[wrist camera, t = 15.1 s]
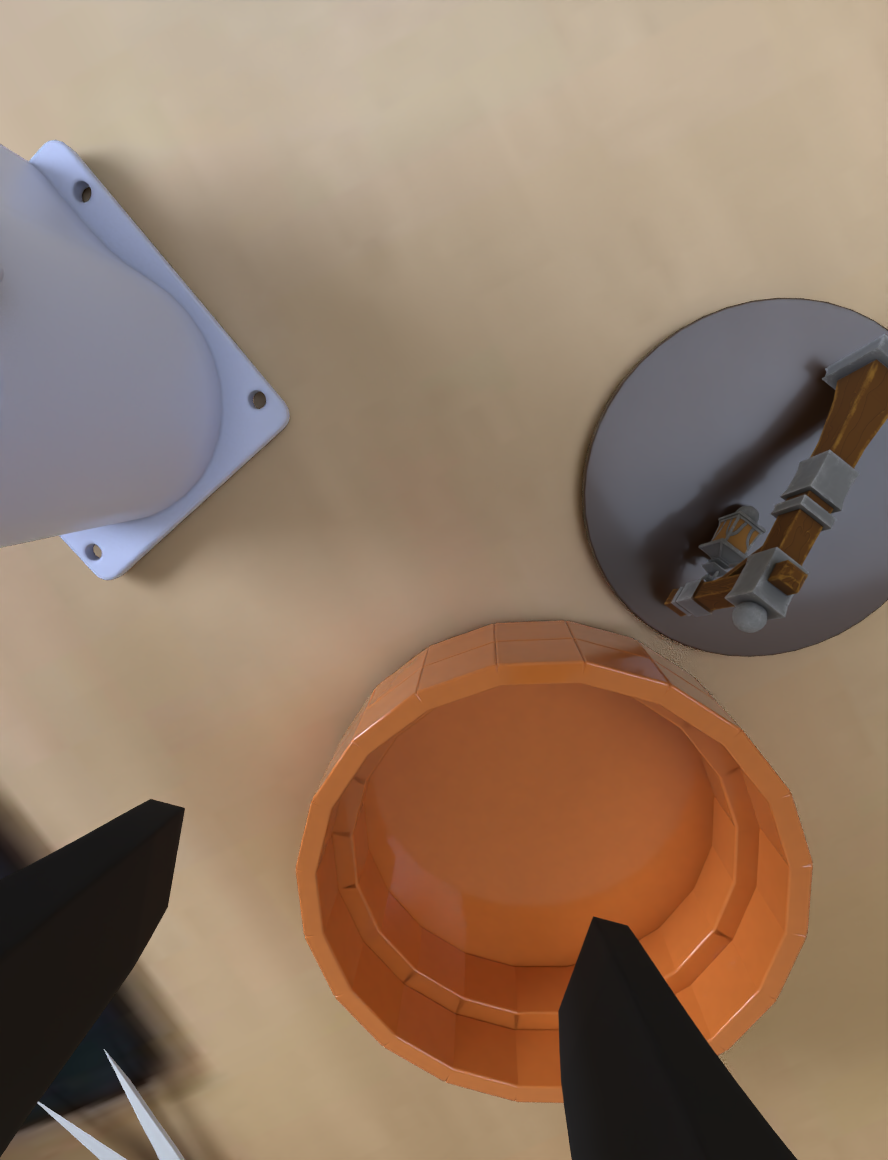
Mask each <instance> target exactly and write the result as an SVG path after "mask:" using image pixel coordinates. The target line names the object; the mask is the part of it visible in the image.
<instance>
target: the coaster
mask: <svg viewBox="0 0 888 1160" xmlns="http://www.w3.org/2000/svg"><path fill="white" fill-rule="evenodd" d="M884 334H885V335H887V336H888V330H887V329H886V328H884V327H883V326H881V325H880V324H878V323H877V322H875V321H874V320H872V319H870V318H868V317H866V316H864V315H862V314H860V313H857V312H855V311H853V310H851V309H848V308H845V307H841V306H838V305H835V304H832V303H829V302H823V301H817V300H810V299H804V298H773V299H764V300H756V301H750V302H746V303H742V304H738V305H734V306H730V307H726V308H724V309H721V310H719V311H716V312H714V313H711V314H709V315H706V316H704V317H702V318H700V319H698V320H696V321H694V322H692V323H691V324H689V325H687V326H685V327H683V328H681V329H680V330H678V331H676V332H675V333H673V334H672V335H671V336H669V337H668V338H666V339H665V340H664V341H662V342H661V343H660V344H658V345H657V346H655V347H654V348H653V349H652V350H651V351H650V352H649V353H648V354H647V355H646V356H645V357H643V358H642V359H641V360H640V361H639V362H638V363H637V364H636V365H635V366H634V368H633V369H632V370H631V371H630V372H629V373H628V375H627V376H626V377H625V378H624V379H623V381H622V382H621V383H620V384H619V386H618V387H617V389H616V390H615V392H614V394H613V395H612V397H611V398H610V400H609V401H608V403H607V404H606V406H605V408H604V410H603V412H602V415H601V417H600V419H599V421H598V423H597V425H596V427H595V430H594V433H593V436H592V439H591V442H590V444H589V447H588V452H587V457H586V461H585V466H584V472H583V484H582V506H583V518H584V523H585V529H586V534H587V538H588V541H589V544H590V547H591V550H592V553H593V556H594V558H595V560H596V562H597V565H598V567H599V569H600V571H601V573H602V575H603V576H604V578H605V579H606V581H607V582H608V584H609V585H610V587H611V588H612V590H613V591H614V593H615V594H616V595H617V596H618V597H619V598H620V599H621V601H622V602H623V603H624V604H625V605H626V606H627V607H628V608H629V609H630V610H631V612H633V613H634V614H635V615H636V616H637V617H639V618H640V619H641V620H642V621H643V622H645V623H646V624H647V625H648V626H650V627H652V628H653V629H655V630H656V631H658V632H659V633H661V634H663V635H664V636H666V637H668V638H670V639H672V640H675V641H677V642H679V643H681V644H683V645H686V646H689V647H692V648H695V649H699V650H702V651H705V652H710V653H716V654H722V655H728V656H748V657H751V656H766V655H775V654H781V653H786V652H791V651H796V650H799V649H802V648H806V647H809V646H812V645H815V644H818V643H821V642H823V641H825V640H827V639H830V638H832V637H834V636H836V635H839V634H840V633H842V632H844V631H846V630H847V629H849V628H851V627H852V626H854V625H856V624H858V623H859V622H861V621H862V620H863V619H865V618H866V617H867V616H869V615H870V614H871V613H873V612H874V611H875V610H877V609H878V608H879V607H881V606H882V605H883V604H884V603H885V602H886V601H887V600H888V419H887V420H886V421H885V423H884V424H883V425H882V427H881V428H880V429H879V431H878V432H877V434H876V435H875V436H874V438H873V439H872V440H871V442H870V443H869V445H868V446H867V447H866V449H865V450H864V452H863V454H862V455H861V457H860V459H859V461H858V462H857V464H856V466H855V468H854V469H855V470H856V471H857V472H859V473H860V475H859V476H858V477H857V478H856V479H855V480H854V482H853V483H852V485H851V487H850V489H849V491H848V493H847V495H846V497H845V499H844V501H843V508H842V511H839V512H835V513H832V514H831V515H832V516H833V517H835V518H836V519H837V520H836V521H835V522H834V523H833V525H832V529H828V530H825V531H821V532H820V534H819V535H818V537H817V539H816V541H815V543H814V544H813V546H812V548H811V550H810V552H809V554H808V555H807V557H806V559H805V561H804V563H803V564H802V567H803V568H805V569H806V570H807V571H808V572H809V573H808V574H807V575H808V576H807V578H806V580H805V582H804V583H803V585H802V587H801V589H800V591H799V593H796V594H794V596H793V598H792V600H791V602H790V603H789V605H788V607H787V612H786V617H784V618H777V619H771V620H767V622H766V625H765V626H764V627H763V628H762V629H761V630H759V631H756V632H754V633H747V632H743V631H741V630H739V629H738V628H737V627H736V626H735V625H734V623H733V619H732V613H733V610H734V608H735V606H734V607H728V608H722V609H716V610H714V611H713V613H712V614H710V615H704V616H698V617H695V616H694V615H693V614H691V615H690V616H688V615H685V616H682V617H681V616H679V615H678V614H677V613H675V612H674V611H673V610H671V609H670V608H668V607H667V606H666V605H664V603H665V602H666V600H667V598H668V597H669V595H670V593H671V592H672V590H673V589H679V588H680V587H685V585H686V583H689V582H693V581H697V580H700V578H701V577H702V576H705V575H706V574H707V573H708V572H707V571H706V570H705V569H704V568H703V567H702V566H701V565H702V564H706V563H709V562H708V561H707V560H711V558H710V556H709V555H707V554H706V553H705V552H704V551H702V550H701V549H700V548H698V547H699V545H701V544H704V543H708V542H711V540H712V538H713V536H714V534H715V532H716V530H717V528H718V526H719V520H718V519H719V518H720V517H723V516H726V515H729V514H732V513H734V512H736V511H737V510H738V509H739V508H740V507H742V506H752V507H754V508H756V510H757V511H758V513H759V520H758V522H757V523H758V524H759V525H760V526H761V527H763V528H764V529H765V530H767V531H766V532H765V533H763V534H761V535H760V536H759V537H758V538H757V540H756V541H755V542H754V544H753V545H752V547H751V548H750V550H749V551H748V553H747V555H746V556H747V557H748V556H749V555H751V554H752V553H754V552H755V551H756V550H757V549H759V548H760V547H761V546H763V544H764V542H765V540H766V538H767V536H768V534H769V533H770V531H771V529H772V527H773V525H774V523H775V521H776V519H777V518H775V517H774V516H773V515H771V513H772V512H773V510H774V505H776V504H779V503H782V502H784V501H785V500H784V499H782V498H781V497H780V496H781V494H782V493H783V492H784V491H785V490H786V489H787V488H788V486H789V485H790V483H791V481H792V479H793V478H794V476H795V474H796V472H797V470H798V466H799V462H801V461H804V460H806V459H808V458H810V457H811V455H812V453H813V451H814V449H815V447H816V445H817V444H818V441H819V439H820V436H821V433H822V430H823V428H824V425H825V422H826V419H827V417H828V414H829V411H830V408H831V406H832V403H833V400H834V395H835V389H834V388H832V387H831V386H830V385H829V384H827V383H826V382H825V381H824V380H822V378H824V377H825V375H826V369H825V368H827V367H829V366H831V365H832V364H834V363H836V362H837V361H839V360H841V359H843V358H844V357H846V356H848V355H849V354H851V353H853V352H855V351H856V350H858V349H860V348H862V347H863V346H865V345H867V344H868V343H870V342H872V341H874V340H875V339H877V338H879V337H880V336H882V335H884ZM733 568H734V567H733ZM733 568H729V569H725V570H726V571H727V572H729V571H730V570H732V569H733ZM710 577H712V576H711V575H710ZM718 578H720V577H716V578H715V579H714V580H716V579H718ZM703 581H705V579H704V580H703ZM705 582H706V581H705Z"/></svg>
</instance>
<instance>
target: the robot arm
mask: <svg viewBox="0 0 888 1160" xmlns="http://www.w3.org/2000/svg"><path fill="white" fill-rule="evenodd" d="M87 187H90V188H91V197H90V199H89V200H88V201H87V202H85V203H84V202H83V200H82V193H83V191H84V189H86V188H87ZM259 391H261V392H263V393H264V395H265V397H266V404H265V406H264V407H263V408H261V409H258V408H256V407H255V405H254V403H253V397H254V395H255V394H256V393H257V392H259ZM289 418H290V413H289V408H288V407H287V405H286V403H285V402H284V401H283V399H282V398H281V397H280V396H279V395H278V394H277V392H276V391H275V390H274V389H273V388H272V386H271V385H270V384H269V383H268V382H267V380H266V379H265V378H264V377H263V376H262V374H261V373H260V372H259V371H258V370H257V368H256V367H255V366H254V365H253V364H252V362H251V361H250V360H249V359H248V358H247V356H246V355H245V354H244V353H243V352H242V350H241V349H240V348H239V347H238V346H237V344H236V343H235V342H234V341H233V340H232V338H231V337H230V336H229V335H228V334H227V332H226V331H225V330H224V329H223V328H222V326H221V325H220V324H219V323H218V322H217V320H216V319H215V318H214V317H213V316H212V314H211V313H210V312H209V311H208V310H207V308H206V307H205V306H204V305H203V304H202V302H201V301H200V300H199V299H198V298H197V297H196V295H195V294H194V293H193V292H192V291H191V289H190V288H189V287H188V286H187V285H186V283H185V282H184V281H183V280H182V279H181V277H180V276H179V275H178V274H177V273H176V271H175V270H174V269H173V268H172V267H171V265H170V264H169V263H168V262H167V261H166V259H165V258H164V257H163V256H162V255H161V253H160V252H159V251H158V250H157V249H156V247H155V246H154V245H153V244H152V243H151V241H150V240H149V239H148V238H147V237H146V235H145V234H144V233H143V232H142V231H141V229H140V228H139V227H138V226H137V225H136V223H135V222H134V221H133V220H132V219H131V217H130V216H129V215H128V214H127V213H126V211H125V210H124V209H123V208H122V207H121V205H120V204H119V203H118V202H117V201H116V200H115V198H114V197H113V196H112V195H111V194H110V192H109V191H108V190H107V189H106V188H105V186H104V185H103V184H102V183H101V182H100V180H99V179H98V178H97V177H96V176H95V174H94V173H93V172H92V171H91V170H90V168H89V167H88V166H87V165H86V164H85V162H84V161H83V160H82V159H81V158H80V156H79V155H78V154H77V153H76V152H75V151H74V150H73V149H72V148H70V147H69V146H68V145H66V144H65V143H63V142H61V141H58V140H51V141H48V142H47V143H45V144H44V145H43V146H42V147H41V148H40V149H39V150H38V151H37V153H36V154H35V155H34V156H33V157H32V158H31V159H30V161H27V160H25V159H24V158H22V157H21V156H19V155H17V154H16V153H14V152H13V151H11V150H9V149H8V148H6V147H5V146H3V145H1V144H0V548H2V547H7V546H12V545H16V544H21V543H26V542H30V541H35V540H40V539H45V538H49V537H54V536H60V537H61V538H62V539H63V540H64V541H65V542H66V543H67V545H68V546H69V547H70V548H71V549H72V550H73V551H74V552H75V553H76V554H77V555H78V556H79V557H80V559H81V560H82V561H83V562H84V563H85V564H86V565H87V566H88V567H89V568H90V569H91V570H92V572H93V573H94V574H95V575H97V576H98V577H99V578H101V579H104V580H113V579H116V578H118V577H120V576H122V575H123V574H125V573H126V572H127V571H128V570H129V569H130V568H131V567H132V566H133V565H134V564H136V563H137V562H138V561H139V560H140V559H141V558H142V557H143V556H144V555H145V554H147V553H148V552H149V551H150V550H151V549H152V548H153V547H154V546H155V545H156V544H158V543H159V542H160V541H161V540H162V539H163V538H164V537H165V536H166V535H167V534H169V533H170V532H171V531H172V530H173V529H174V528H175V527H176V526H177V525H178V524H180V523H181V522H182V521H183V520H184V519H185V518H186V517H187V516H188V515H189V514H191V513H192V512H193V511H194V510H195V509H196V508H197V507H198V506H199V505H200V504H202V503H203V502H204V501H205V500H206V499H207V498H208V497H209V496H210V495H211V494H213V493H214V492H215V491H216V490H217V489H218V488H219V487H220V486H221V485H222V484H224V483H225V482H226V481H227V480H228V479H229V478H230V477H231V476H232V475H233V474H235V473H236V472H237V471H238V470H239V469H240V468H241V467H242V466H243V465H244V464H246V463H247V462H248V461H249V460H250V459H251V458H252V457H253V456H254V455H255V454H257V453H258V452H259V451H260V450H261V449H262V448H263V447H264V446H265V445H266V444H267V443H269V442H270V441H271V440H272V439H273V438H274V437H275V436H276V435H277V434H278V433H280V432H281V431H282V430H283V429H284V428H285V427H286V425H287V424H288V422H289ZM95 544H96V545H98V546H99V547H100V549H101V551H102V556H101V558H99V557H97V556H96V555H95V553H94V551H93V547H94V545H95ZM184 810H185V808H183V807H179V806H175V805H171V804H167V803H164V802H160V801H156V800H152V799H150V800H148V801H146V802H144V803H142V804H141V805H139V806H137V807H135V808H133V809H131V810H129V811H128V812H126V813H124V814H122V815H120V816H119V817H117V818H115V819H113V820H111V821H110V822H108V823H106V824H104V825H103V826H101V827H99V828H97V829H95V830H94V831H92V832H90V833H88V834H86V835H85V836H83V837H81V838H79V839H77V840H76V841H74V842H72V843H70V844H68V845H66V846H64V847H63V848H61V849H59V850H57V851H55V852H53V853H51V854H49V855H48V856H46V857H44V858H42V859H40V860H38V861H36V862H35V863H33V864H31V865H29V866H27V867H25V868H23V869H21V870H19V871H17V872H15V873H13V874H11V875H9V876H7V877H5V878H3V879H1V880H0V1157H1V1155H2V1154H3V1152H4V1151H5V1149H6V1148H7V1146H8V1145H9V1143H10V1142H11V1140H12V1139H13V1137H14V1136H15V1134H16V1133H17V1131H18V1130H19V1128H20V1127H21V1125H22V1124H23V1122H24V1121H25V1119H26V1118H27V1117H28V1115H29V1114H30V1112H31V1111H32V1110H33V1108H34V1107H35V1105H36V1104H37V1103H38V1101H39V1100H40V1098H41V1097H42V1096H43V1094H44V1093H45V1091H46V1090H47V1089H48V1087H49V1086H50V1084H51V1083H52V1082H53V1080H54V1079H55V1077H56V1076H57V1075H58V1073H59V1072H60V1070H61V1069H62V1068H63V1066H64V1065H65V1063H66V1062H67V1061H68V1059H69V1058H70V1056H71V1055H72V1054H73V1052H74V1051H75V1049H76V1048H77V1047H78V1045H79V1044H80V1042H81V1041H82V1040H83V1038H84V1037H85V1036H86V1034H87V1033H88V1031H89V1030H90V1029H91V1027H92V1026H93V1024H94V1023H95V1022H96V1020H97V1019H98V1017H99V1016H100V1014H101V1013H102V1012H103V1010H104V1009H105V1007H106V1006H107V1005H108V1003H109V1002H110V1000H111V999H112V998H113V996H114V995H115V993H116V992H117V990H118V989H119V988H120V986H121V985H122V983H123V982H124V980H125V979H126V978H127V976H128V975H129V973H130V972H131V970H132V969H133V967H134V966H135V964H136V962H137V961H138V959H139V957H140V955H141V954H142V952H143V950H144V948H145V947H146V945H147V943H148V942H149V940H150V938H151V936H152V934H153V933H154V931H155V929H156V927H157V925H158V924H159V922H160V920H161V918H162V916H163V915H164V913H165V911H166V909H167V907H168V902H169V896H170V891H171V885H172V879H173V873H174V868H175V862H176V856H177V851H178V845H179V839H180V833H181V828H182V822H183V816H184ZM558 1019H559V1052H560V1071H561V1086H562V1093H563V1101H564V1108H565V1115H566V1122H567V1129H568V1136H569V1143H570V1150H571V1157H572V1160H797V1159H796V1157H795V1156H794V1155H793V1154H792V1152H791V1151H790V1150H789V1149H788V1148H787V1146H786V1145H785V1144H784V1143H783V1141H782V1140H781V1139H780V1138H779V1136H778V1135H777V1134H776V1133H775V1131H774V1130H773V1129H772V1128H771V1126H770V1125H769V1124H768V1122H767V1121H766V1120H765V1118H764V1117H763V1116H762V1115H761V1113H760V1112H759V1111H758V1109H757V1108H756V1107H755V1105H754V1104H753V1103H752V1102H751V1100H750V1099H749V1098H748V1096H747V1095H746V1094H745V1092H744V1091H743V1090H742V1088H741V1087H740V1086H739V1085H738V1083H737V1082H736V1081H735V1079H734V1078H733V1076H732V1075H731V1074H730V1072H729V1071H728V1070H727V1068H726V1067H725V1065H724V1064H723V1063H722V1061H721V1060H720V1059H719V1057H718V1056H717V1054H716V1053H715V1052H714V1050H713V1049H712V1047H711V1046H710V1045H709V1043H708V1042H707V1040H706V1039H705V1038H704V1036H703V1035H702V1033H701V1032H700V1030H699V1029H698V1028H697V1026H696V1025H695V1023H694V1022H693V1020H692V1019H691V1017H690V1016H689V1015H688V1013H687V1012H686V1010H685V1009H684V1007H683V1006H682V1004H681V1003H680V1001H679V1000H678V998H677V997H676V995H675V994H674V993H673V991H672V990H671V988H670V987H669V985H668V984H667V982H666V981H665V979H664V978H663V976H662V975H661V973H660V972H659V970H658V969H657V967H656V966H655V964H654V963H653V961H652V960H651V958H650V957H649V955H648V954H647V952H646V951H645V949H644V948H643V946H642V945H641V943H640V942H639V940H638V939H637V938H636V936H635V935H634V933H633V932H632V930H631V929H630V928H629V926H628V925H624V924H620V923H617V922H613V921H609V920H605V919H602V918H598V917H594V916H593V918H592V921H591V923H590V926H589V929H588V932H587V934H586V937H585V940H584V942H583V945H582V948H581V951H580V953H579V956H578V959H577V961H576V964H575V967H574V970H573V972H572V975H571V978H570V980H569V983H568V986H567V989H566V991H565V994H564V997H563V999H562V1002H561V1005H560V1008H559V1010H558Z"/></svg>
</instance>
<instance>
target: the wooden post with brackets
mask: <svg viewBox="0 0 888 1160" xmlns="http://www.w3.org/2000/svg"><path fill="white" fill-rule="evenodd" d="M825 369H826V375H825V377H824V378H822V380H824V381H825V382H826V383H827V384H829V385H830V386H831V387H832V388H834V389H835V395H834V400H833V403H832V406H831V408H830V411H829V414H828V417H827V419H826V422H825V425H824V428H823V430H822V433H821V436H820V439H819V441H818V444H817V445H816V447H815V449H814V451H813V453H812V455H811V457H810V458H808V459H806V460H804V461H801V462H799V466H798V470H797V472H796V474H795V476H794V478H793V479H792V481H791V483H790V485H789V486H788V488H787V489H786V490H785V491H784V492H783V493H782V494H781V496H780V497H781V498H782V499H784V500H785V501H784V502H782V503H779V504H776V505H774V510H773V512H772V513H771V515H773V516H774V517H775V518H777V519H776V521H775V523H774V525H773V527H772V529H771V531H770V533H769V534H768V536H767V538H766V540H765V542H764V544H763V546H761V547H760V548H759V549H757V550H756V551H755V552H754V553H752V554H751V555H749V556H748V557H747V556H746V555H747V553H748V551H749V550H750V548H751V547H752V545H753V544H754V542H755V541H756V540H757V538H758V537H759V536H760V535H761V534H763V533H765V532H766V531H767V530H765V529H764V528H763V527H761V526H760V525H759V524H758V523H757V522H758V520H759V513H758V511H757V510H756V508H754V507H752V506H742V507H740V508H739V509H738V510H737V511H736V512H734V513H732V514H729V515H726V516H723V517H720V518H719V519H718V520H719V526H718V528H717V530H716V532H715V534H714V536H713V538H712V540H711V542H708V543H704V544H701V545H699V547H698V548H700V549H701V550H702V551H704V552H705V553H706V554H707V555H709V556H710V558H711V560H707V561H708V562H709V563H706V564H702V565H701V566H702V567H703V568H704V569H705V570H706V571H707V572H708V573H707V574H706V575H705V576H702V577H701V578H700V580H697V581H693V582H689V583H686V585H685V587H680V588H679V589H673V590H672V592H671V593H670V595H669V597H668V598H667V600H666V602H665V603H664V605H666V606H667V607H668V608H670V609H671V610H673V611H674V612H675V613H677V614H678V615H679V616H681V617H682V616H685V615H688V616H690V615H691V614H693V615H694V616H695V617H698V616H704V615H710V614H712V613H713V611H714V610H716V609H722V608H728V607H734V606H735V608H734V610H733V613H732V619H733V623H734V625H735V626H736V627H737V628H738V629H739V630H741V631H743V632H747V633H754V632H756V631H759V630H761V629H762V628H763V627H764V626H765V625H766V622H767V620H771V619H777V618H784V617H786V612H787V607H788V605H789V603H790V602H791V600H792V598H793V596H794V594H796V593H799V591H800V589H801V587H802V585H803V583H804V582H805V580H806V578H807V576H808V575H807V574H808V573H809V572H808V571H807V570H806V569H805V568H803V567H802V564H803V563H804V561H805V559H806V557H807V555H808V554H809V552H810V550H811V548H812V546H813V544H814V543H815V541H816V539H817V537H818V535H819V534H820V532H821V531H825V530H828V529H832V525H833V523H834V522H835V521H836V520H837V519H836V518H835V517H833V516H832V515H831V514H832V513H835V512H839V511H842V508H843V501H844V499H845V497H846V495H847V493H848V491H849V489H850V487H851V485H852V483H853V482H854V480H855V479H856V478H857V477H858V476H859V475H860V473H859V472H857V471H856V470H855V469H854V468H855V466H856V464H857V462H858V461H859V459H860V457H861V455H862V454H863V452H864V450H865V449H866V447H867V446H868V445H869V443H870V442H871V440H872V439H873V438H874V436H875V435H876V434H877V432H878V431H879V429H880V428H881V427H882V425H883V424H884V423H885V421H886V420H887V419H888V336H887V335H885V334H884V335H882V336H880V337H879V338H877V339H875V340H874V341H872V342H870V343H868V344H867V345H865V346H863V347H862V348H860V349H858V350H856V351H855V352H853V353H851V354H849V355H848V356H846V357H844V358H843V359H841V360H839V361H837V362H836V363H834V364H832V365H831V366H829V367H827V368H825ZM733 567H734V568H733ZM729 568H733V569H732V570H730V571H729V572H727V571H726V570H725V569H729ZM710 575H711V576H712V577H710ZM716 577H720V578H718V579H716V580H714V579H715V578H716ZM704 579H705V581H706V582H705V581H703V580H704Z"/></svg>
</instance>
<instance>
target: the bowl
mask: <svg viewBox="0 0 888 1160" xmlns="http://www.w3.org/2000/svg"><path fill="white" fill-rule="evenodd" d="M812 864H813V861H812V858H811V855H810V852H809V848H808V845H807V842H806V839H805V836H804V832H803V829H802V826H801V823H800V819H799V816H798V813H797V810H796V806H795V803H794V800H793V797H792V794H791V793H790V790H789V789H788V787H787V786H786V785H785V784H784V782H783V781H782V780H781V778H780V777H779V776H778V775H777V773H776V772H775V771H774V770H773V768H772V767H771V766H770V764H769V763H768V762H767V761H766V759H765V758H764V757H763V755H762V754H761V753H760V752H759V750H758V749H757V748H756V746H755V745H754V744H753V743H752V741H751V740H750V739H749V738H748V736H747V735H746V734H745V732H744V731H743V730H742V729H741V728H740V727H739V726H738V725H737V723H736V722H735V721H734V720H733V719H732V718H731V717H730V716H729V715H728V714H727V712H726V711H725V710H724V709H723V708H722V707H721V706H720V705H719V704H718V703H717V702H716V700H715V699H714V698H713V697H712V696H711V695H710V694H709V693H708V692H707V691H706V690H705V688H704V687H703V686H702V685H701V684H700V683H699V682H698V681H697V680H696V679H695V678H694V677H693V676H692V675H690V674H689V673H687V672H686V671H684V670H683V669H681V668H679V667H678V666H676V665H675V664H673V663H672V662H670V661H669V660H667V659H666V658H664V657H662V656H661V655H659V654H658V653H656V652H655V651H653V650H652V649H650V648H649V647H647V646H645V645H644V644H642V643H641V642H639V641H636V640H635V639H634V638H631V637H627V636H623V635H619V634H616V633H612V632H608V631H604V630H601V629H597V628H593V627H589V626H586V625H582V624H578V623H574V622H571V621H566V622H565V621H564V620H561V621H536V622H511V623H495V624H490V625H487V626H484V627H481V628H479V629H476V630H473V631H470V632H467V633H465V634H462V635H459V636H456V637H453V638H451V639H448V640H445V641H442V642H439V643H436V644H434V645H431V646H429V647H428V648H426V649H424V650H423V651H422V652H420V653H419V654H418V655H416V656H415V657H414V658H413V659H411V660H410V661H409V662H407V663H406V664H405V665H404V666H402V667H401V668H400V669H398V670H397V671H396V672H394V673H393V674H392V675H391V676H389V677H388V678H387V679H385V680H384V681H383V682H381V683H380V684H379V685H378V686H377V687H376V689H374V690H373V692H372V693H371V695H370V696H369V698H368V699H367V701H366V702H365V704H364V705H363V707H362V708H361V710H360V711H359V713H358V714H357V716H356V717H355V719H354V720H353V722H352V723H351V725H350V727H349V728H348V730H347V731H346V733H345V734H344V736H343V737H342V739H341V741H340V743H339V745H338V747H337V749H336V751H335V754H334V756H333V758H332V760H331V762H330V764H329V766H328V768H327V770H326V772H325V774H324V776H323V778H322V780H321V782H320V784H319V787H318V789H317V791H316V793H315V795H314V797H313V799H312V801H311V804H310V808H309V812H308V816H307V821H306V825H305V829H304V833H303V838H302V842H301V846H300V851H299V855H298V859H297V863H296V876H297V884H298V892H299V900H300V907H301V915H302V923H303V931H304V935H305V939H306V941H307V943H308V945H309V947H310V949H311V951H312V953H313V955H314V957H315V959H316V961H317V963H318V965H319V967H320V969H321V971H322V973H323V975H324V977H325V979H326V981H327V983H328V985H329V987H330V989H331V991H332V993H333V995H334V996H335V998H336V999H337V1000H338V1001H339V1002H340V1003H341V1004H342V1005H343V1006H344V1007H345V1008H346V1009H347V1010H348V1012H349V1013H350V1014H351V1015H352V1016H353V1017H354V1018H355V1019H356V1020H357V1021H358V1022H359V1023H360V1024H361V1025H362V1026H363V1027H364V1028H365V1029H366V1030H367V1031H368V1032H369V1033H370V1034H371V1035H372V1036H373V1037H374V1038H375V1039H376V1040H377V1041H378V1042H379V1043H380V1044H381V1045H382V1046H384V1047H385V1048H386V1049H388V1050H390V1051H391V1052H393V1053H395V1054H396V1055H398V1056H400V1057H402V1058H403V1059H405V1060H407V1061H409V1062H410V1063H412V1064H414V1065H416V1066H417V1067H419V1068H421V1069H423V1070H424V1071H426V1072H428V1073H430V1074H431V1075H433V1076H435V1077H437V1078H438V1079H440V1080H442V1081H446V1082H447V1083H449V1084H453V1085H456V1086H460V1087H464V1088H467V1089H471V1090H475V1091H478V1092H482V1093H486V1094H489V1095H493V1096H497V1097H501V1098H504V1099H508V1100H512V1101H515V1100H516V1102H541V1103H564V1101H563V1093H562V1086H561V1071H560V1052H559V1019H558V1010H559V1008H560V1005H561V1002H562V999H563V997H564V994H565V991H566V989H567V986H568V983H569V980H570V978H571V975H572V972H573V970H574V967H575V964H576V961H577V959H578V956H579V953H580V951H581V948H582V945H583V942H584V940H585V937H586V934H587V932H588V929H589V926H590V923H591V921H592V918H593V916H594V917H598V918H602V919H605V920H609V921H613V922H617V923H620V924H624V925H628V926H629V928H630V929H631V930H632V932H633V933H634V935H635V936H636V938H637V939H638V940H639V942H640V943H641V945H642V946H643V948H644V949H645V951H646V952H647V954H648V955H649V957H650V958H651V960H652V961H653V963H654V964H655V966H656V967H657V969H658V970H659V972H660V973H661V975H662V976H663V978H664V979H665V981H666V982H667V984H668V985H669V987H670V988H671V990H672V991H673V993H674V994H675V995H676V997H677V998H678V1000H679V1001H680V1003H681V1004H682V1006H683V1007H684V1009H685V1010H686V1012H687V1013H688V1015H689V1016H690V1017H691V1019H692V1020H693V1022H694V1023H695V1025H696V1026H697V1028H698V1029H699V1030H700V1032H701V1033H702V1035H703V1036H704V1038H705V1039H706V1040H707V1042H708V1043H709V1045H710V1046H711V1047H712V1049H713V1050H714V1052H715V1053H716V1054H717V1056H718V1055H720V1054H722V1053H724V1052H725V1050H729V1049H730V1048H731V1047H732V1046H733V1045H734V1044H735V1042H736V1041H737V1040H738V1039H739V1038H740V1037H741V1036H742V1035H743V1034H744V1033H745V1032H746V1031H747V1030H748V1029H749V1028H750V1027H751V1026H752V1025H753V1024H754V1023H755V1022H756V1021H757V1020H758V1019H759V1018H760V1017H761V1016H762V1015H763V1014H764V1013H765V1012H766V1011H767V1010H768V1009H769V1008H770V1007H771V1006H772V1005H773V1004H774V1003H775V1002H776V999H777V998H778V997H779V994H780V992H781V990H782V988H783V986H784V984H785V982H786V980H787V978H788V976H789V973H790V971H791V969H792V967H793V965H794V963H795V961H796V959H797V957H798V954H799V952H800V950H801V948H802V946H803V944H804V942H805V940H806V937H807V936H806V935H807V933H808V921H809V908H810V895H811V882H812V870H813V865H812Z"/></svg>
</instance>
